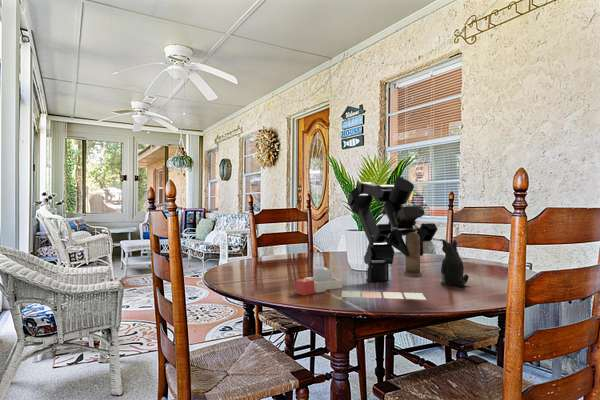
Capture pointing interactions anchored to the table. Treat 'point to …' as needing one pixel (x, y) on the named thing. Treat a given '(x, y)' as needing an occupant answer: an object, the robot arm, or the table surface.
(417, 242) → the pawn
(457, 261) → the figurine
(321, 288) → the base
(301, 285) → the red die
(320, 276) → the dome
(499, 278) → the table surface
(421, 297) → the track board
